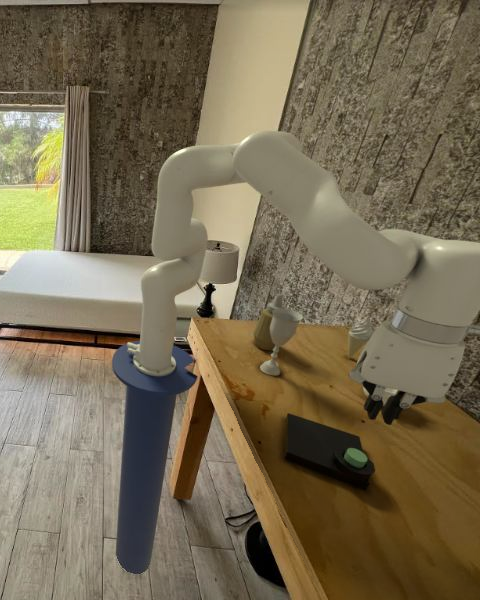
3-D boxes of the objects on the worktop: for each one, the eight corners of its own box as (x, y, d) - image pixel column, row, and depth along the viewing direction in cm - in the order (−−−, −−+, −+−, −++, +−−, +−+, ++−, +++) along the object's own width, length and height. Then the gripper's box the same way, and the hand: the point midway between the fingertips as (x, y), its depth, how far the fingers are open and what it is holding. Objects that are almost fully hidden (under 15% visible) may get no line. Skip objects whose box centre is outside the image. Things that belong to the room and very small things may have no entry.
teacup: (355, 385, 84) (363, 369, 81) (393, 395, 80) (402, 378, 78) (365, 411, 76) (374, 393, 73) (408, 422, 72) (418, 404, 70)
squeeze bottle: (279, 355, 96) (296, 302, 88) (249, 348, 100) (263, 296, 92) (279, 342, 102) (295, 292, 94) (251, 336, 106) (265, 287, 98)
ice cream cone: (361, 365, 91) (382, 320, 85) (340, 360, 94) (358, 315, 87) (358, 356, 95) (377, 312, 89) (337, 351, 98) (355, 308, 91)
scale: (284, 460, 64) (289, 447, 62) (285, 419, 74) (289, 406, 72) (369, 494, 58) (378, 479, 56) (358, 444, 67) (365, 431, 66)
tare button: (344, 463, 59) (348, 457, 59) (342, 451, 62) (346, 445, 61) (365, 471, 58) (369, 464, 57) (362, 458, 60) (366, 452, 59)
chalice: (264, 359, 95) (280, 305, 87) (288, 370, 90) (307, 315, 82) (251, 368, 91) (266, 313, 83) (276, 381, 86) (295, 323, 78)
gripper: (491, 327, 46) (432, 419, 54) (356, 303, 53) (321, 388, 61) (520, 353, 40) (448, 452, 48) (363, 323, 48) (324, 413, 56)
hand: (377, 416), depth 55 cm, fingers closed
